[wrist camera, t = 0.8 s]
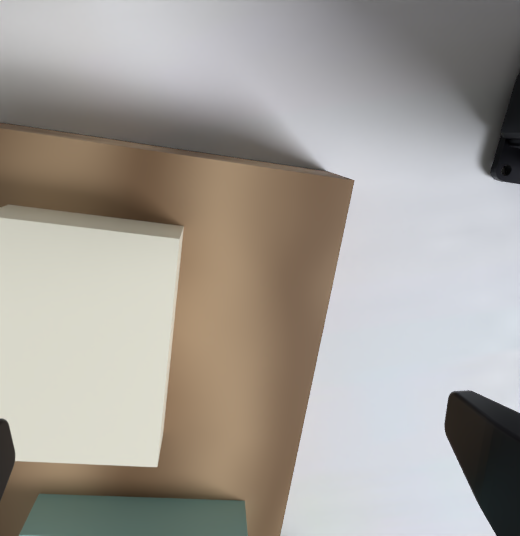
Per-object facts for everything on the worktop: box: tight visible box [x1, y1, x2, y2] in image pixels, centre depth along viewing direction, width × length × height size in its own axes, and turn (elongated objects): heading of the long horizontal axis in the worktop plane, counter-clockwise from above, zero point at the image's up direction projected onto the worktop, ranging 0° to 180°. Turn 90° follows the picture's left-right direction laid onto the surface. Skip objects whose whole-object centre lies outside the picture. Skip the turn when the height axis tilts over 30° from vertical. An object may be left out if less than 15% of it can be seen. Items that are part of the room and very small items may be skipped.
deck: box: [0, 123, 354, 536], centre depth 20 cm, size 14×22×4 cm, turn 171°
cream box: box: [0, 205, 184, 467], centre depth 15 cm, size 6×9×2 cm, turn 171°
